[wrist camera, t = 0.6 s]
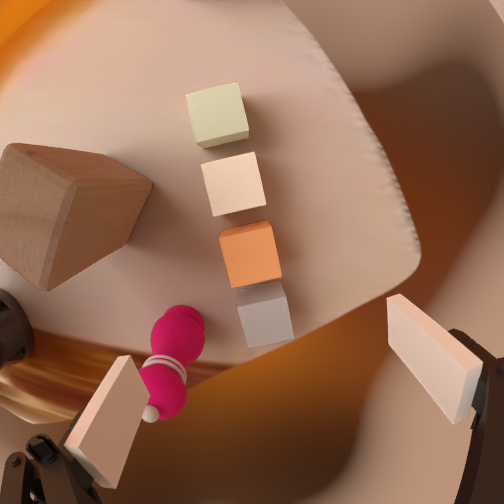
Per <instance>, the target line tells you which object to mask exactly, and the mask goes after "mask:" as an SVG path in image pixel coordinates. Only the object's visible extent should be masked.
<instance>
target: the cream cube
mask: <svg viewBox="0 0 504 504" xmlns="http://www.w3.org/2000/svg"><path fill="white" fill-rule="evenodd" d="M201 168H202V172H203V176H204V180H205V185H206V189H207V193H208V197H209V201H210V206H211V210H212V214H213V217H215V216H219V215H223V214H228V213H232V212H236V211H240V210H245V209H249V208H254V207H258V206H263V205H267V204H266V200H265V195H264V191H263V187H262V182H261V178H260V173H259V169H258V165H257V160H256V156H255V152H250V153H246V154H241V155H237V156H233V157H228V158H224V159H220V160H216V161H212V162H208V163H204V164H201Z"/></svg>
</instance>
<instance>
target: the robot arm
mask: <svg viewBox="0 0 504 504" xmlns="http://www.w3.org/2000/svg"><path fill="white" fill-rule="evenodd" d="M387 309H388V310H387V311H388V343H389V345H390V346H391V348H392V349H393V350H394V351H395V352H396V354H397V355H398V356H399V357H400V358H401V360H402V361H403V362H404V363H405V365H406V366H407V367H408V368H409V369H410V371H411V372H412V373H413V374H414V376H415V377H416V378H417V379H418V381H419V382H420V383H421V385H422V386H423V387H424V388H425V390H426V391H427V392H428V393H429V395H430V396H431V397H432V398H433V400H434V401H435V402H436V404H437V405H438V406H439V408H440V409H441V410H442V411H443V413H444V414H445V415H446V417H447V418H448V419H449V421H450V422H451V423H452V424H453V425H454V424H456V423H458V422H459V421H461V420H463V419H464V418H466V417H468V415H469V412H470V409H471V406H472V407H473V408H474V409H475V410H476V411H477V412H476V414H475V417H474V420H473V423H472V425H471V428H470V429H473V431H472V436H471V441H470V446H469V451H468V456H467V460H466V464H465V468H464V472H463V476H462V480H461V483H460V487H459V490H458V493H457V496H456V499H455V502H454V504H504V357H503V358H498V359H496V358H495V357H494V356H493V355H491V354H490V353H489V352H488V351H486V350H485V349H484V348H483V347H482V346H480V345H479V344H476V342H475V341H474V340H473V339H471V338H470V337H469V336H468V335H467V334H465V333H464V332H462V331H459V330H456V329H454V328H453V329H451V330H449V331H446V330H445V329H443V328H442V327H441V326H440V325H439V324H437V323H436V322H435V321H434V320H433V319H431V318H430V317H429V316H428V315H426V314H425V313H424V312H423V311H421V310H420V309H419V308H418V307H416V306H415V305H414V304H412V303H411V302H410V301H409V300H407V299H406V298H405V297H404V296H402V295H401V294H397V295H394V296H391V297H388V298H387ZM32 350H33V334H32V330H31V327H30V324H29V322H28V319H27V317H26V315H25V313H24V312H23V310H22V308H21V307H20V305H19V304H18V303H17V302H16V300H15V299H14V298H13V297H12V296H11V295H9V294H8V293H7V292H5V291H3V290H1V289H0V370H1V369H2V368H4V367H7V366H10V365H13V364H16V363H20V362H22V361H24V360H25V359H26V358H27V357H28V356H29V355H30V354H31V352H32ZM149 398H150V394H149V392H148V390H147V388H146V386H145V384H144V382H143V380H142V378H141V376H140V374H139V372H138V370H137V368H136V366H135V364H134V362H133V360H132V358H131V356H130V355H127V356H119V357H118V358H117V359H116V361H115V362H114V364H113V365H112V367H111V368H110V370H109V372H108V373H107V375H106V376H105V378H104V379H103V381H102V383H101V384H100V386H99V387H98V389H97V390H96V392H95V394H94V395H93V397H92V399H91V400H90V402H89V403H88V405H87V407H86V408H83V409H82V410H81V411H80V412H79V413H78V414H77V415H76V416H75V418H74V420H73V423H71V425H70V426H69V429H67V431H66V433H65V435H64V436H63V438H62V440H61V441H60V443H59V445H58V447H57V446H56V445H55V444H54V442H53V441H52V440H51V438H50V437H49V436H48V435H46V434H38V435H36V436H33V437H32V438H31V439H30V440H29V441H28V443H27V444H26V450H27V451H28V452H29V453H30V455H31V456H32V457H33V458H34V459H30V460H29V459H28V458H27V456H26V455H25V454H24V453H22V452H15V453H13V454H11V455H10V456H9V457H8V459H7V461H6V463H5V469H4V474H3V479H2V485H1V492H0V504H102V502H101V500H100V498H99V495H98V493H97V491H96V489H95V488H94V487H93V486H92V481H93V479H94V480H95V481H96V482H97V483H98V484H99V485H100V486H101V487H107V488H114V489H116V487H117V484H118V481H119V478H120V475H121V472H122V470H123V467H124V464H125V461H126V458H127V456H128V453H129V450H130V447H131V445H132V442H133V439H134V437H135V434H136V431H137V429H138V426H139V423H140V421H141V418H142V416H143V413H144V410H145V408H146V405H147V403H148V400H149ZM30 493H32V494H33V495H34V500H32V499H31V497H30Z"/></svg>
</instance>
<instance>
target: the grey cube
mask: <svg viewBox="0 0 504 504" xmlns="http://www.w3.org/2000/svg"><path fill="white" fill-rule="evenodd" d="M237 310H238V314H239V318H240V321H241V325H242V329H243V332H244V336H245V339H246V343H247V347H248V349H249V348H254V347H259V346H264V345H268V344H273V343H277V342H282V341H286V340H290V339H294V334H293V329H292V323H291V318H290V313H289V308H288V303H287V298H286V295H285V292H284V289H283V287H282V284H281V281H276V282H271V283H267V284H262V285H258V286H254V287H249V288H245V289H240V290H237Z"/></svg>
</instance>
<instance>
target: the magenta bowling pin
mask: <svg viewBox="0 0 504 504" xmlns="http://www.w3.org/2000/svg"><path fill="white" fill-rule="evenodd" d="M203 332H204V322H203V319H202V317H201V315H200V314H199V313H198V312H197V311H196V310H194V309H192V308H190V307H188V306H181V305H180V306H174V307H172V308H170V309H169V310H168V311H167V312H166V313H165V314H164V316H163V317H161V318H160V319H159V320H158V321H157V322H156V323H155V325H154V327H153V330H152V333H151V347H152V351H153V356H151V357H150V358H148V359H147V360H146V361H145V363H144V365H143V367H142V368H140V369H139V370H138V372H139V374H140V376H141V378H142V380H143V382H144V384H145V386H146V388H147V390H148V392H149V394H150V398H149V400H148V403H147V405H146V408H145V410H144V413H143V416H142V418H143V420H145V421H146V422H151V423H152V422H155V421H157V420H165V419H170V418H172V417H174V416H176V415H177V414H178V413H179V412H180V411H181V410H182V408H183V407H184V405H185V402H186V398H187V392H186V387H185V382H186V379H187V375H186V371H185V367H186V366H188V365H189V364H191V363H193V362H194V361H195V360H196V359H197V358H198V357H199V355H200V354H201V352H202V350H203V347H204V342H205V339H204V333H203Z"/></svg>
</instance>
